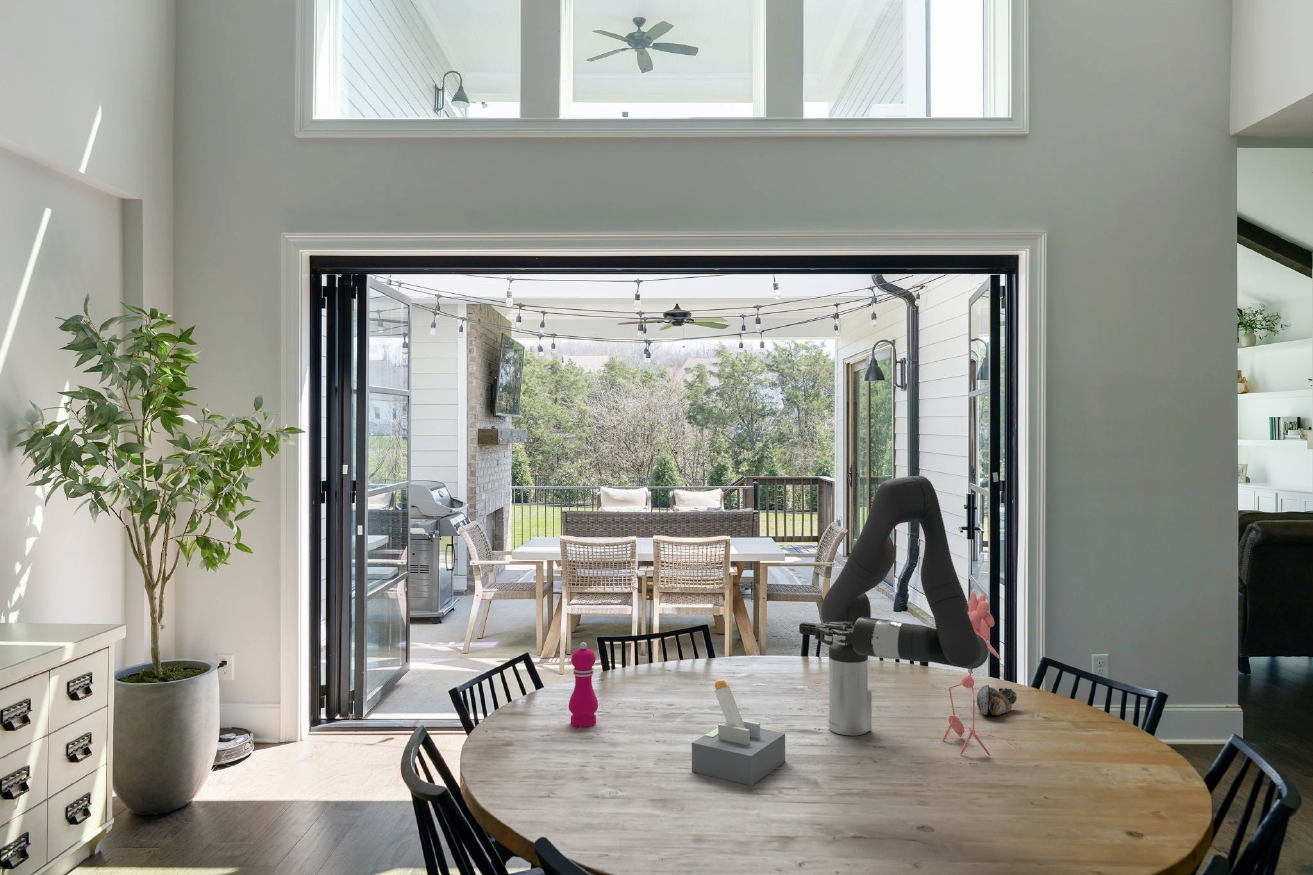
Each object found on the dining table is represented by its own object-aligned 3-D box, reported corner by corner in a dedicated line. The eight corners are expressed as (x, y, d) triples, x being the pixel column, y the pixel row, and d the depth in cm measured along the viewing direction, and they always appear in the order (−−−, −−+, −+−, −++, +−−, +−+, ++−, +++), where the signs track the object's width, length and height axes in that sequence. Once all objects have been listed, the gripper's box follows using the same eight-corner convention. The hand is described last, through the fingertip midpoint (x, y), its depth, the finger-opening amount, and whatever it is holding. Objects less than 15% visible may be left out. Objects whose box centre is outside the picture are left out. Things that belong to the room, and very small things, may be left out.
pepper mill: (593, 729, 206) (593, 646, 206) (564, 727, 207) (564, 644, 208) (601, 719, 213) (601, 639, 213) (573, 717, 215) (573, 638, 215)
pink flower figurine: (974, 769, 180) (977, 603, 180) (924, 729, 206) (927, 583, 206) (1043, 768, 181) (1046, 603, 182) (985, 728, 207) (988, 584, 208)
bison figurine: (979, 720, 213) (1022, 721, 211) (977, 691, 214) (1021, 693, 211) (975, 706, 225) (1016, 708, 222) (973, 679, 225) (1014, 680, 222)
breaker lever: (739, 736, 184) (717, 679, 187) (748, 733, 183) (726, 676, 186) (732, 740, 182) (710, 683, 185) (742, 737, 180) (719, 679, 183)
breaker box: (728, 748, 193) (728, 708, 193) (785, 761, 185) (785, 719, 185) (691, 771, 180) (691, 728, 180) (751, 785, 172) (751, 741, 172)
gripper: (891, 613, 177) (813, 604, 186) (869, 625, 166) (787, 615, 175) (891, 650, 177) (813, 639, 186) (869, 664, 166) (787, 651, 175)
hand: (800, 627), depth 181 cm, fingers closed
